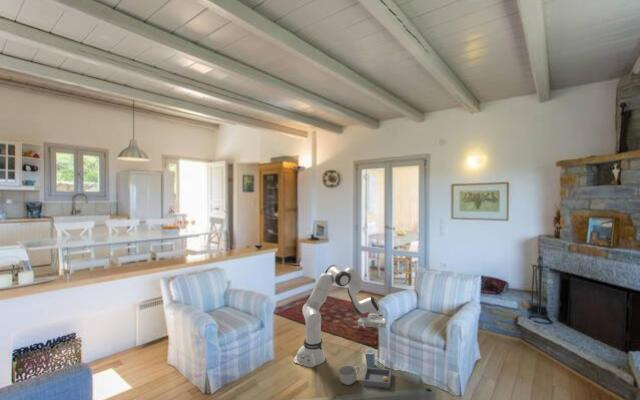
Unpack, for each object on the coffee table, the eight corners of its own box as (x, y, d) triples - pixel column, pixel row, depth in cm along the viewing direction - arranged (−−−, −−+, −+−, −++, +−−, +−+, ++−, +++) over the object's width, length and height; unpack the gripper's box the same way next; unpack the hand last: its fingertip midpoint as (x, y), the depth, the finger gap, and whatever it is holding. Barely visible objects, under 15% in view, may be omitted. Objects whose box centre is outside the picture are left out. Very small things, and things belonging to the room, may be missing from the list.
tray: (363, 386, 193) (362, 380, 193) (366, 372, 207) (366, 367, 207) (389, 388, 189) (389, 383, 189) (391, 374, 202) (391, 369, 202)
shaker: (366, 368, 211) (365, 353, 211) (367, 363, 216) (366, 349, 215) (374, 369, 210) (373, 353, 209) (375, 364, 215) (374, 349, 214)
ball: (381, 379, 195) (384, 383, 193) (383, 376, 194) (386, 380, 192) (383, 377, 197) (387, 381, 195) (385, 374, 196) (389, 378, 194)
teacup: (343, 389, 192) (341, 376, 192) (337, 378, 203) (336, 366, 202) (364, 383, 196) (363, 371, 195) (357, 373, 206) (356, 361, 206)
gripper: (359, 314, 239) (356, 322, 226) (386, 315, 233) (385, 324, 220) (359, 322, 240) (356, 330, 226) (387, 324, 234) (385, 333, 220)
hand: (370, 327), depth 223 cm, fingers open, 8 cm apart
